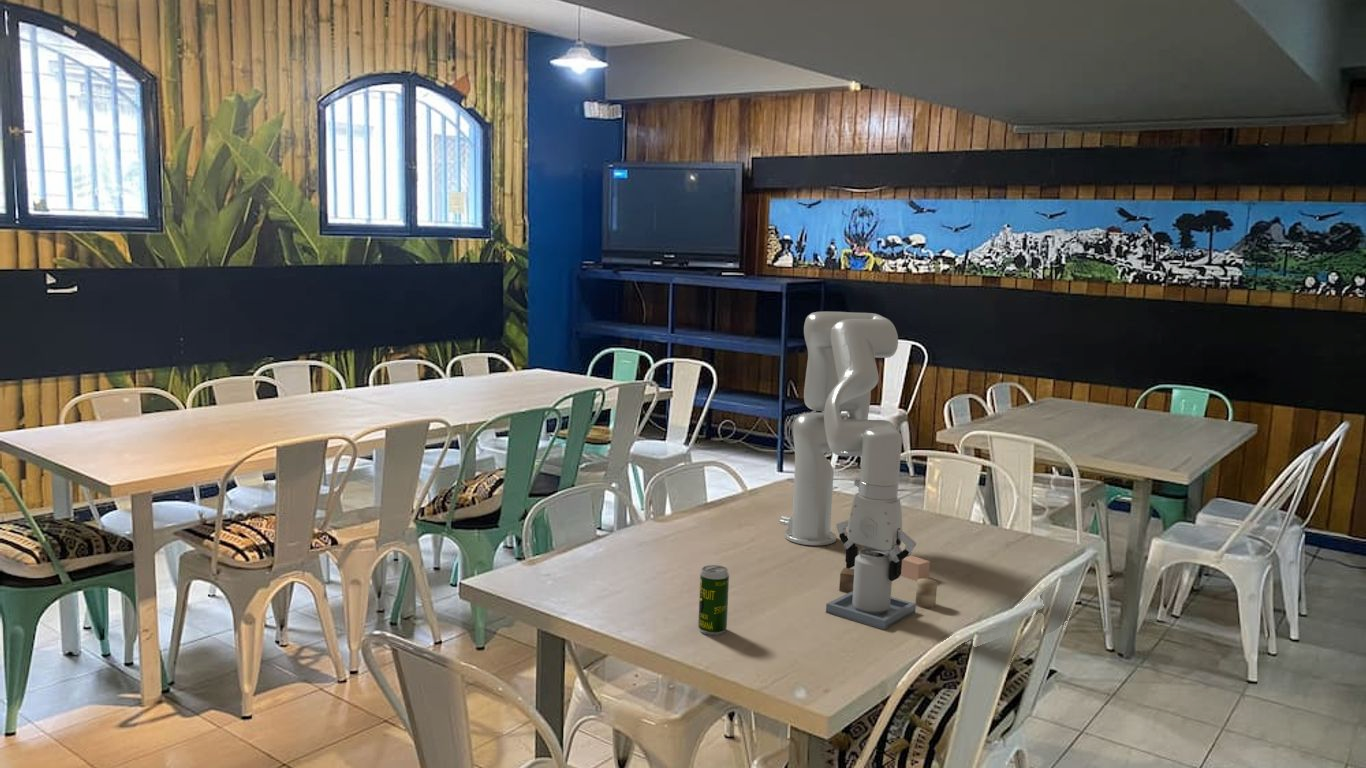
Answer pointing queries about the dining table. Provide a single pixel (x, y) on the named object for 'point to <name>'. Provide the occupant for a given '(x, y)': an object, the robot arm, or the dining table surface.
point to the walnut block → (846, 580)
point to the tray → (882, 621)
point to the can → (872, 581)
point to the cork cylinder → (926, 593)
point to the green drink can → (713, 600)
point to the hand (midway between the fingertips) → (872, 572)
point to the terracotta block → (915, 568)
